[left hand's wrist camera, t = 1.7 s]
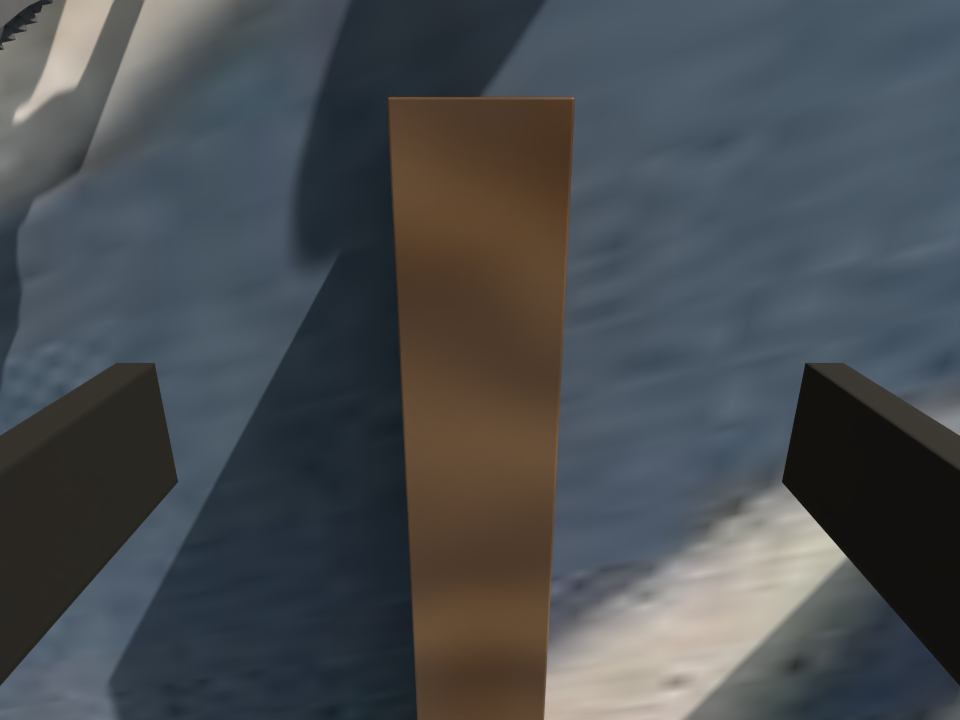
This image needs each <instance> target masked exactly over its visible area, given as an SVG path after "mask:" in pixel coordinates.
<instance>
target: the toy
mask: <svg viewBox="0 0 960 720" xmlns="http://www.w3.org/2000/svg"><path fill="white" fill-rule="evenodd" d="M50 3H52V0H0V50H3V49H4V48H3V45H2V42H7V41H12V40H16V39H15V36H14V33H18V32H23V31H27V29H26V27H25V25H27V24H31V23H36V22H37V20H36V17H35V14H34V13H39V12H40V11H41V8H42V5H46V4H50Z"/></svg>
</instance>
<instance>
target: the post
mask: <svg viewBox="0 0 960 720" xmlns="http://www.w3.org/2000/svg"><path fill="white" fill-rule="evenodd" d="M574 105H575V99H574V98H573V97H389V98H387V113H388V133H389V154H390V174H391V195H392V215H393V236H394V256H395V277H396V297H397V318H398V339H399V359H400V380H401V400H402V421H403V441H404V462H405V482H406V503H407V523H408V544H409V564H410V585H411V605H412V626H413V646H414V667H415V687H416V708H417V720H544V710H545V690H546V670H547V650H548V629H549V609H550V589H551V569H552V549H553V529H554V508H555V488H556V468H557V448H558V428H559V408H560V387H561V367H562V347H563V327H564V307H565V287H566V267H567V246H568V226H569V206H570V186H571V166H572V146H573V125H574Z"/></svg>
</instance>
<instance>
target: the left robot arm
mask: <svg viewBox="0 0 960 720" xmlns="http://www.w3.org/2000/svg"><path fill="white" fill-rule="evenodd" d="M177 483H178V480H177V475H176V470H175V464H174V459H173V454H172V449H171V444H170V439H169V434H168V429H167V424H166V419H165V414H164V409H163V404H162V399H161V394H160V389H159V383H158V378H157V373H156V368H155V363H116V364H114V365H113V366H111V367H110V368H108V369H106V370H105V371H103V372H102V373H100V374H98V375H97V376H95V377H94V378H92V379H90V380H89V381H87V382H86V383H84V384H82V385H81V386H79V387H78V388H76V389H74V390H73V391H71V392H70V393H68V394H66V395H65V396H63V397H62V398H60V399H58V400H57V401H55V402H54V403H52V404H50V405H49V406H47V407H46V408H44V409H42V410H41V411H39V412H38V413H36V414H34V415H33V416H31V417H30V418H28V419H26V420H25V421H23V422H22V423H20V424H18V425H17V426H15V427H14V428H12V429H10V430H9V431H7V432H6V433H4V434H2V435H1V436H0V685H1V684H2V683H3V682H4V681H5V680H6V678H7V677H8V676H9V675H10V674H11V673H12V672H13V670H14V669H15V668H16V667H17V666H18V665H19V664H20V662H21V661H22V660H23V659H24V658H25V657H26V656H27V654H28V653H29V652H30V651H31V650H32V649H33V648H34V646H35V645H36V644H37V643H38V642H39V641H40V640H41V638H42V637H43V636H44V635H45V634H46V633H47V631H48V630H49V629H50V628H51V627H52V626H53V625H54V623H55V622H56V621H57V620H58V619H59V618H60V617H61V615H62V614H63V613H64V612H65V611H66V610H67V609H68V607H69V606H70V605H71V604H72V603H73V602H74V601H75V599H76V598H77V597H78V596H79V595H80V594H81V593H82V591H83V590H84V589H85V588H86V587H87V586H88V585H89V583H90V582H91V581H92V580H93V579H94V578H95V576H96V575H97V574H98V573H99V572H100V571H101V570H102V568H103V567H104V566H105V565H106V564H107V563H108V562H109V560H110V559H111V558H112V557H113V556H114V555H115V554H116V552H117V551H118V550H119V549H120V548H121V547H122V546H123V544H124V543H125V542H126V541H127V540H128V539H129V538H130V536H131V535H132V534H133V533H134V532H135V531H136V529H137V528H138V527H139V526H140V525H141V524H142V523H143V521H144V520H145V519H146V518H147V517H148V516H149V515H150V513H151V512H152V511H153V510H154V509H155V508H156V507H157V505H158V504H159V503H160V502H161V501H162V500H163V499H164V497H165V496H166V495H167V494H168V493H169V492H170V491H171V489H172V488H173V487H174V486H175V485H176V484H177ZM782 483H783V484H784V485H785V486H786V487H787V488H788V489H789V491H790V492H791V493H792V494H793V495H794V496H795V497H796V499H797V500H798V501H799V502H800V503H801V504H802V505H803V507H804V508H805V509H806V510H807V511H808V512H809V513H810V515H811V516H812V517H813V518H814V519H815V520H816V521H817V523H818V524H819V525H820V526H821V527H822V528H823V530H824V531H825V532H826V533H827V534H828V535H829V536H830V538H831V539H832V540H833V541H834V542H835V543H836V544H837V546H838V547H839V548H840V549H841V550H842V551H843V552H844V554H845V555H846V556H847V557H848V558H849V559H850V560H851V562H852V563H853V564H854V565H855V566H856V567H857V568H858V570H859V571H860V572H861V573H862V574H863V575H864V576H865V578H866V579H867V580H868V581H869V582H870V583H871V585H872V586H873V587H874V588H875V589H876V590H877V591H878V593H879V594H880V595H881V596H882V597H883V598H884V599H885V601H886V602H887V603H888V604H889V605H890V606H891V607H892V609H893V610H894V611H895V612H896V613H897V614H898V615H899V617H900V618H901V619H902V620H903V621H904V622H905V623H906V625H907V626H908V627H909V628H910V629H911V630H912V631H913V633H914V634H915V635H916V636H917V637H918V638H919V640H920V641H921V642H922V643H923V644H924V645H925V646H926V648H927V649H928V650H929V651H930V652H931V653H932V654H933V656H934V657H935V658H936V659H937V660H938V661H939V662H940V664H941V665H942V666H943V667H944V668H945V669H946V670H947V672H948V673H949V674H950V675H951V676H952V677H953V678H954V680H955V681H956V682H957V683H958V684H959V685H960V436H959V435H958V434H956V433H954V432H953V431H951V430H950V429H948V428H946V427H945V426H943V425H942V424H940V423H938V422H937V421H935V420H934V419H932V418H930V417H929V416H927V415H926V414H924V413H922V412H921V411H919V410H918V409H916V408H914V407H913V406H911V405H910V404H908V403H906V402H905V401H903V400H902V399H900V398H898V397H897V396H895V395H894V394H892V393H890V392H889V391H887V390H886V389H884V388H882V387H881V386H879V385H878V384H876V383H874V382H873V381H871V380H870V379H868V378H866V377H865V376H863V375H862V374H860V373H858V372H857V371H855V370H854V369H852V368H850V367H849V366H847V365H846V364H844V363H805V368H804V373H803V378H802V383H801V389H800V394H799V399H798V404H797V409H796V414H795V419H794V424H793V429H792V434H791V439H790V444H789V449H788V454H787V459H786V464H785V470H784V475H783V480H782Z"/></svg>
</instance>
